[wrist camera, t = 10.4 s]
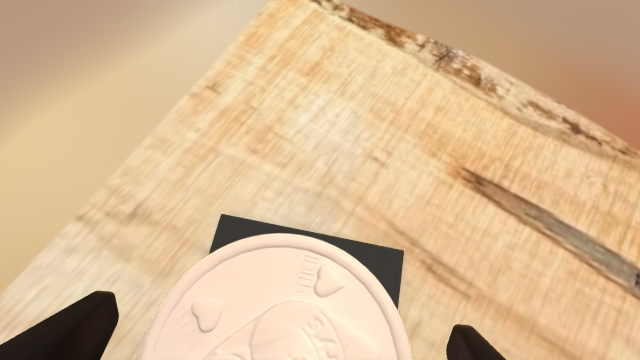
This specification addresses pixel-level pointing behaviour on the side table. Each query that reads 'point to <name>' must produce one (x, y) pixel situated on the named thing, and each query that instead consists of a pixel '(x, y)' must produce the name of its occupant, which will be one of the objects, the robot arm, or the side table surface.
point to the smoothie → (276, 307)
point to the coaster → (373, 257)
